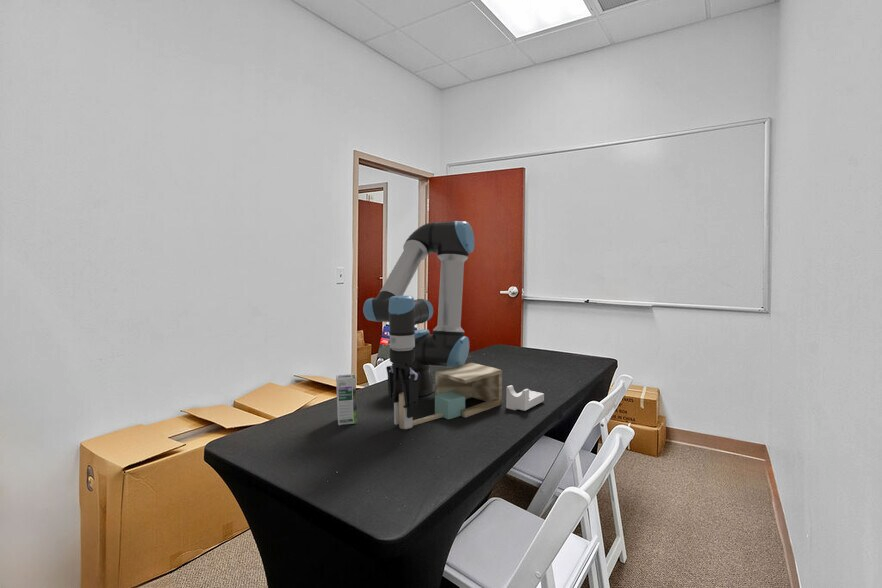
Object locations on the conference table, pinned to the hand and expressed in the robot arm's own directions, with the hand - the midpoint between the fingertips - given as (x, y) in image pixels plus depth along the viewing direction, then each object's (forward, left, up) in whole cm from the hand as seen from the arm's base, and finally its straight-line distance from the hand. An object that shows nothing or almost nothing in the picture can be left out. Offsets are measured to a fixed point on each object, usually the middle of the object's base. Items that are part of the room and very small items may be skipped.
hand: (403, 425), depth 129 cm
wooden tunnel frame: (0, +28, -1) cm, 28 cm away
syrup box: (-16, -10, -1) cm, 19 cm away
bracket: (+13, +43, -1) cm, 45 cm away
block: (+1, +10, -1) cm, 10 cm away
